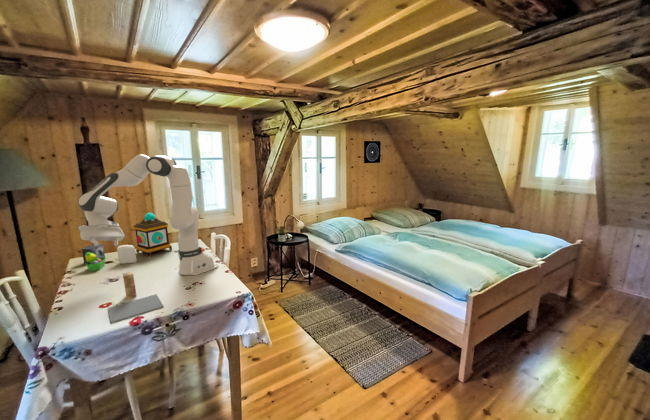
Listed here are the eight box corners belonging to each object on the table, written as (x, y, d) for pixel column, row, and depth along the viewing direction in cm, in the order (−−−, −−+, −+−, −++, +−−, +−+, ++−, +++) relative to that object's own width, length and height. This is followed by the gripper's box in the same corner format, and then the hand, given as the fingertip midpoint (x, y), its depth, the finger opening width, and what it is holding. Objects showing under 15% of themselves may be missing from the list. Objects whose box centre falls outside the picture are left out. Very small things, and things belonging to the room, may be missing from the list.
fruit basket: (101, 270, 182) (98, 253, 180) (84, 272, 179) (81, 255, 177) (107, 264, 192) (104, 248, 190) (91, 266, 189) (88, 250, 187)
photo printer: (118, 264, 192) (115, 246, 190) (121, 261, 196) (119, 244, 194) (134, 263, 193) (131, 245, 191) (137, 261, 197) (135, 243, 195)
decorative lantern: (147, 258, 202) (141, 216, 197) (133, 253, 213) (127, 213, 207) (175, 250, 219) (170, 211, 214) (160, 246, 229) (155, 209, 224)
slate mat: (156, 295, 147) (156, 294, 147) (163, 307, 135) (163, 306, 135) (108, 308, 135) (108, 307, 135) (111, 323, 123) (111, 322, 123)
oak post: (135, 293, 150) (132, 271, 148) (136, 296, 147) (133, 273, 145) (126, 295, 147) (122, 273, 145) (127, 298, 144) (123, 276, 142)
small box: (91, 264, 193) (88, 249, 192) (83, 263, 195) (80, 248, 193) (106, 258, 204) (103, 244, 202) (98, 258, 205) (95, 243, 203)
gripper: (80, 221, 152) (87, 241, 147) (121, 223, 170) (129, 241, 165) (74, 229, 154) (81, 249, 149) (116, 230, 172) (123, 248, 167)
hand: (107, 245), depth 157 cm, fingers open, 8 cm apart
